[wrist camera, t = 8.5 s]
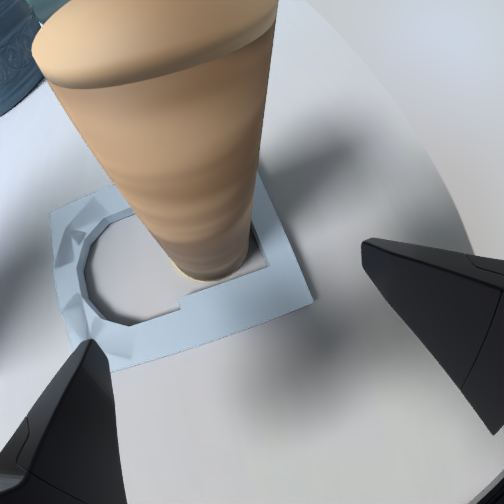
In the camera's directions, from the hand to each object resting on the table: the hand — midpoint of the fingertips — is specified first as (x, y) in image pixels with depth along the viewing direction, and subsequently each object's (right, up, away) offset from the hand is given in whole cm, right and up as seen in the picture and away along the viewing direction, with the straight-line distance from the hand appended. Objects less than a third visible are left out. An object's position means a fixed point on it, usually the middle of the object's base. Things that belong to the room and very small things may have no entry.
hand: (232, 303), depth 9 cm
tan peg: (-2, +2, +9) cm, 9 cm away
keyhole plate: (-4, +1, +8) cm, 9 cm away
